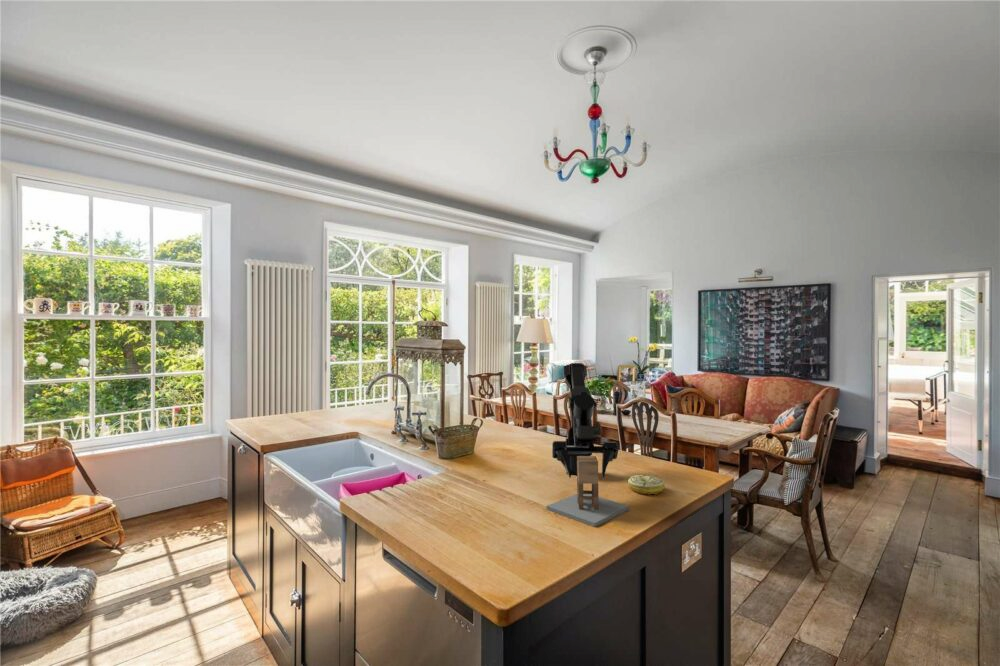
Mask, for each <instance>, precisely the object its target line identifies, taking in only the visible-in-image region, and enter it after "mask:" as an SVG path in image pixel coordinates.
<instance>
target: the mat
mask: <svg viewBox="0 0 1000 666" xmlns="http://www.w3.org/2000/svg"><path fill="white" fill-rule="evenodd" d="M583 496H592V494H583ZM598 500H599V510H594V504H592V500H583V506H584V509H579V504H578V502H577V493H575V494H573V495H570V496H568V497H564V498H562V499H560V500H557V501H555V502H553V503H550V504H548V505H546V510H547V511H550V512H552V513H555V514H558V515H560V516H564V517H566V518H569V519H572V520H575V521H578V522H580V523H583V524H586V525H587V526H591V527H594V528H596V527H597V526H600V525H602V524H604V523H606V522H607V521H609V520H612V519H614V518H616V517H618V516H620V515H622V514H623V512H624V513H626V512H628V511H629V510H630V505H626V504H624V503H620V502H616V501H614V500H611V499H607V498H603V497H602V496H601V497H600V496H598ZM627 510H628V511H627ZM625 511H626V512H625ZM621 513H622V514H621ZM619 514H620V515H619ZM617 515H618V516H617ZM615 516H616V517H615ZM613 517H614V518H613Z"/></svg>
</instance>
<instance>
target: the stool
mask: <svg viewBox="0 0 1000 666" xmlns="http://www.w3.org/2000/svg"><path fill="white" fill-rule="evenodd" d="M576 479H577V480H576V483H577V488H576V489H577V493H576V494H577V502H578V504H579V509H584V506H583V500H592V504H594V510H599V500H598V497H599V461H598V458H597V456H595V455H591V456H577V475H576ZM584 484H587V485H588V484H589V485H590V484H591V490H584ZM583 494H591V495H592V496H583Z"/></svg>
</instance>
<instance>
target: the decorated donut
mask: <svg viewBox="0 0 1000 666" xmlns="http://www.w3.org/2000/svg"><path fill="white" fill-rule="evenodd" d="M627 483H628V486H629V488H630V489H631V490H632V491H633V492H635V493H637V494H640V495H645V494H648V496H652V495H651V494H655V495H658V494H657V493H659V494H660V492H661V493H662V492H663V491H664V489H665V482H664V480H663V479H661V478H659V477H656V476H654V475H646V474H643V475H642V474H640V475H639V474H638V475H632V476H630V478H628V480H627Z"/></svg>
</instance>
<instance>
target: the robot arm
mask: <svg viewBox="0 0 1000 666" xmlns="http://www.w3.org/2000/svg"><path fill="white" fill-rule="evenodd" d="M562 376H563V378H564V383H565V384H566V386H567V387H568V389H569V396H568V409H570V421H571V423H570V424H571V425H570V428H569V430H568V432H567V436H566V437H567V438H565V440H553V442H552V449H551V450H552V453H551V454H552V459H556V460H557V461H559V462H560V463H561V464H562V466H563V467H564V469H565V471H566V474H567V475H568V477H569V478H572V475H576V476H577V456H593V454H602V460H601V476H602V479H605V477H606V476H605V475H606V470H607V467H608V465H609V463H610V462H613V461H614V460H617V458H618V453H619V444H618V442H616V441H606V440H605V441H603V444H602V445H595V443H596V437H600V436H601V434H602V431H601V430H602V428H601V424H600V423H597V424H596V423H594V424H593V421H592V419H593V418H592V417H593V415H594V409H595V407H597V402H596V401H595V399H594V396H591V395H592V394H591V391H590V390H589V389H588V388H587V386H586V382H585V379H586V378H587V377H588V366H587V365H585V364H584V363H582V362H571V363H568V364H566V365H564V366H563V369H562Z"/></svg>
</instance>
